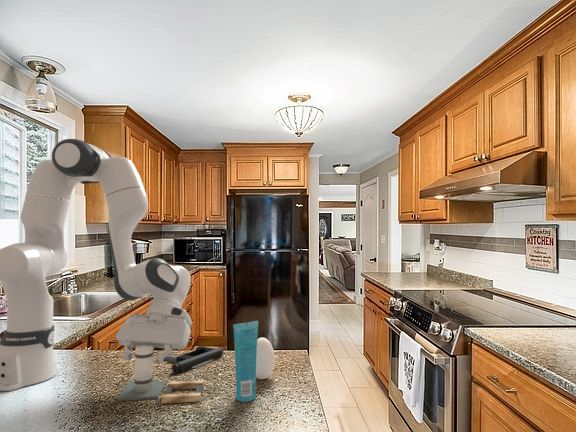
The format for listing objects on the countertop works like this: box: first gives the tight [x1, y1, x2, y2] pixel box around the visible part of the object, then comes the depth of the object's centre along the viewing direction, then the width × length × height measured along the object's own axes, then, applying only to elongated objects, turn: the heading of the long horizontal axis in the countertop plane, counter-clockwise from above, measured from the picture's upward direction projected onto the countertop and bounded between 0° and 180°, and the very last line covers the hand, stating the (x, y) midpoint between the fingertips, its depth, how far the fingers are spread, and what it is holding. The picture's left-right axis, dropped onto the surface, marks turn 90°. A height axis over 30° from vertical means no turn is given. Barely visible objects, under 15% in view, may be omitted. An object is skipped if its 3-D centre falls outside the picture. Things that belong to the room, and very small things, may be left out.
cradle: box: [160, 379, 205, 404], centre depth 97 cm, size 9×9×2 cm
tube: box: [233, 320, 259, 403], centre depth 95 cm, size 7×5×19 cm, turn 133°
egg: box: [256, 337, 276, 380], centre depth 107 cm, size 7×7×12 cm
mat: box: [116, 380, 167, 402], centre depth 98 cm, size 10×10×1 cm
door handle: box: [164, 345, 224, 374], centre depth 122 cm, size 3×20×16 cm
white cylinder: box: [133, 345, 154, 392], centre depth 98 cm, size 5×5×11 cm
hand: (142, 360), depth 98 cm, fingers open, 8 cm apart
